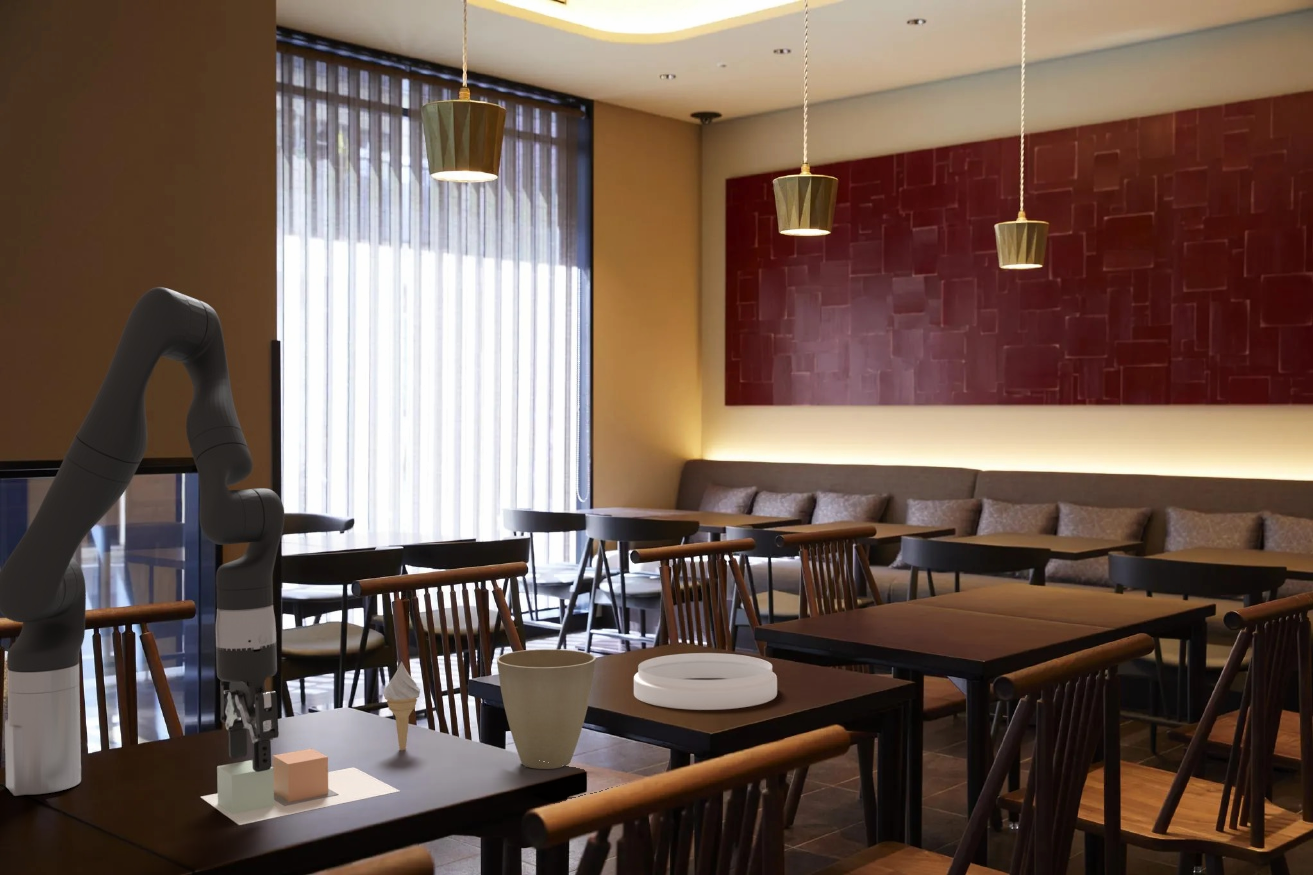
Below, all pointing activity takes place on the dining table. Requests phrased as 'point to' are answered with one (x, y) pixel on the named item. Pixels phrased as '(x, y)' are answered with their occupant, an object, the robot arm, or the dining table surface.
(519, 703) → the plant pot
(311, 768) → the terracotta brick
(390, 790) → the baseplate
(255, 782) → the sage brick
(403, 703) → the ice cream cone
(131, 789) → the dining table surface
